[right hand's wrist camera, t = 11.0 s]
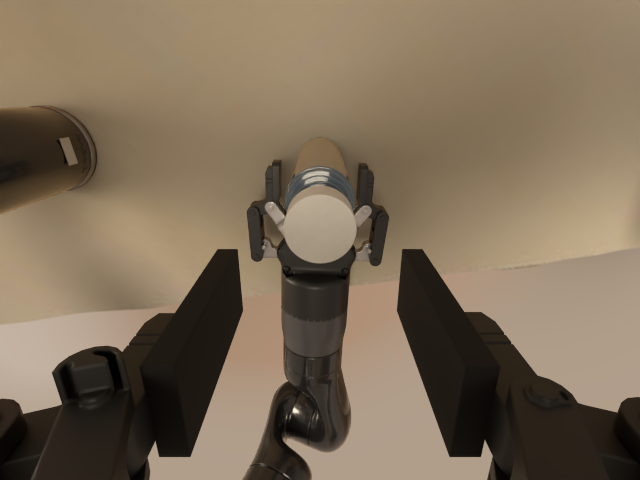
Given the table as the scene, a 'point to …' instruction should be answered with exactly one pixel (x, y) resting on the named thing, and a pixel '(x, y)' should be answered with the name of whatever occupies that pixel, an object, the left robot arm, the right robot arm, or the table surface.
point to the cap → (320, 225)
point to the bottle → (319, 170)
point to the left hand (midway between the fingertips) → (320, 162)
